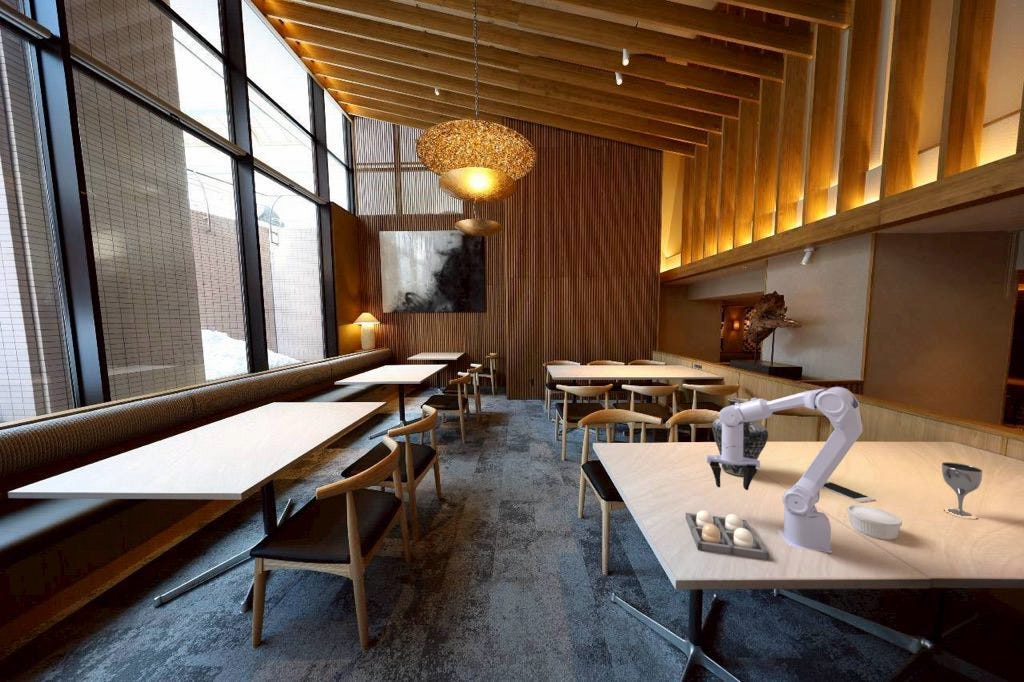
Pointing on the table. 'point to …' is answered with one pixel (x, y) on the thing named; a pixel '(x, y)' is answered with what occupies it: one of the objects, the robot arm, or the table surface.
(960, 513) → the wine glass
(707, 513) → the cream egg
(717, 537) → the tan egg
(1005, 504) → the table surface
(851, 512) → the ramekin
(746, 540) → the cream egg
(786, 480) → the table surface
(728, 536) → the egg tray
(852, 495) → the smartphone
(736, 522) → the cream egg
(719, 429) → the jug
